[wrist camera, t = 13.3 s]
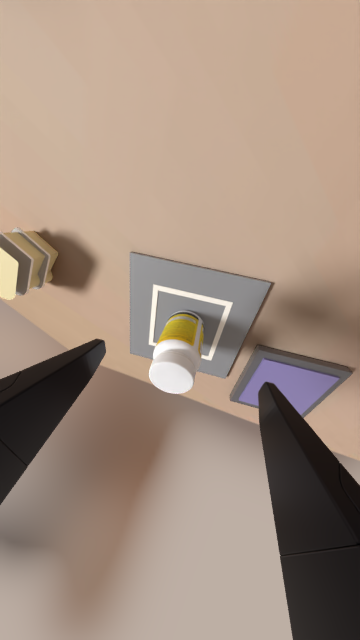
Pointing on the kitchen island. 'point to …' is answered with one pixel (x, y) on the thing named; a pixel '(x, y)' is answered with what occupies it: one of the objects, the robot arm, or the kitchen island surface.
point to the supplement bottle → (178, 353)
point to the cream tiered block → (24, 262)
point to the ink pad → (288, 378)
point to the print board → (192, 307)
